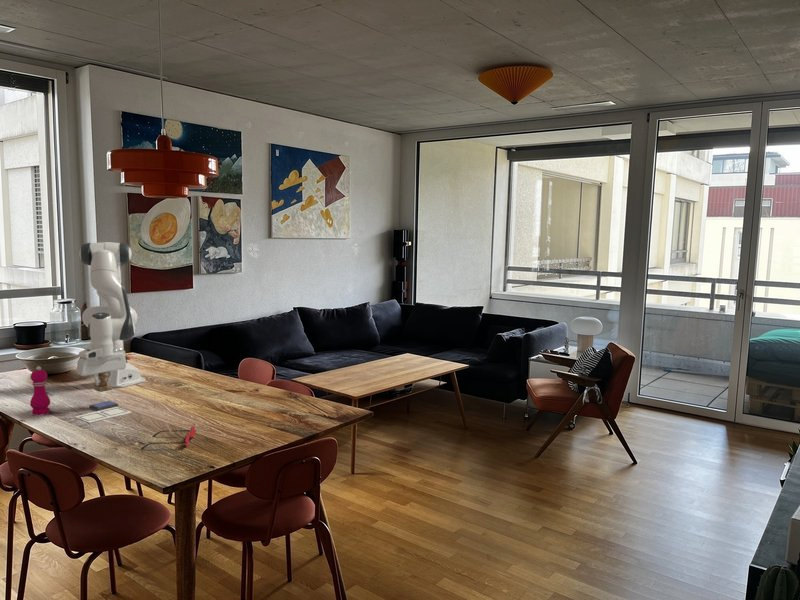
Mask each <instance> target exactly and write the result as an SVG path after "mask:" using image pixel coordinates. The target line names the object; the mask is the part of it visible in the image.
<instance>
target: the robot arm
mask: <svg viewBox="0 0 800 600" xmlns="http://www.w3.org/2000/svg"><path fill="white" fill-rule="evenodd" d="M132 255H133V253H132V249H131V247H130V245H129V244H127V243H125V242H111V241H104V242H86V243H83V244H82V245H81V246H80V249H79V258H80V260H81V263H83V264H84V265H87V266H89V268H90V269H89V280H90V285H91V287H92V288H93V289H94V290H95V291H96V294H97V296H98V297H99V298H100V299H102V300H104V301H105V302H106V304H107V306H103V305H100V306H98V305H96V306H90V307H87V308H86V309H85V310H84V311H83V312H82V316H81V317H82V318H81V319H82V322H83V324H84V325H85V326H86V327H87V335H88V337H89V338H90V345H89V346H88V347H87V348H84V349H83V350H80V351H79V352H78V354H77V355H78V357H79V358H78V359H77V362H76V374H77V375H78V376H81V377H86V376H90V375H91V377H92V379H94V384H96V385H95V386H97V385H99V383H100V379H99V377H98V373H104V372H107V374H108V376H107V384H108V385H111V386H112V388H126V387H129V386H132V385H137V384H140V383H144V382H146V378H145V377H143V376H141V372H140V370H139V368H137V367H136V366H134V365H132V364H131V363H129V362H128V361H132V356H130V355H126V350H125V349H124V341H129V340H130V339H132V338H133V337H134V336H135V333H136V325H137V322H138V318H139V317H138V314H137V311H136V310H135V309H134V308H132V307H131V306H130V302H129V298H128V297H129V296H128V294H127V289H126V286H125V284H123V283H122V272H121V267H124V266H126V265H127V264H129V263H130V262H131V260H132Z"/></svg>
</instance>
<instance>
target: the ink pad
mask: <svg viewBox="0 0 800 600" xmlns="http://www.w3.org/2000/svg"><path fill="white" fill-rule="evenodd" d="M114 407H119V404H118V402H114V401H111V400H106V401H102V402H98V403H93V404H92V403H91V404H89V408H90V409H93V410H95V411H101V410H105V409H109V408H114Z"/></svg>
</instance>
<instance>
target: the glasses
mask: <svg viewBox="0 0 800 600" xmlns="http://www.w3.org/2000/svg"><path fill="white" fill-rule="evenodd" d="M197 431H198V430H197V429H195V425H193V426H192V427H191V428H190V429H189V430H188V429H184V430H182V429H181V430H180V429H179V430H178V429H175V430H172V432H187V433H186V434H185V436H184V441H178V442H176V441H175V442H173V441H171V442H150V443H147V444H146V445H144V446H142V447H141V448H140V450H143V449H145V448H147V446H149V445H153V444H155V445H156V444H158V445H159V444H161V445H162V444H163V445H164V444H170V445H171V444H173V445H174V444H184V446H185V447H188V446H189V443H190V440H191V439H190V438H195V435H196V432H197ZM164 432H165V433H166V432H168V430H160V431H158V432H156V433H155V434H153V435H152V437H156V436H157V435H158V434H160V433H164Z"/></svg>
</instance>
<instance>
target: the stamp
mask: <svg viewBox="0 0 800 600" xmlns="http://www.w3.org/2000/svg"><path fill="white" fill-rule="evenodd" d="M107 376H108V374H107V372H104V373H98V376H97V378H98V377H99V379H100V383H99V385H97V386H96V385H93V388H94V390H93V391H96V392H99V393H102V392H107V391H112V390H113V387H112V386H111V385H108V384H107Z"/></svg>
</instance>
